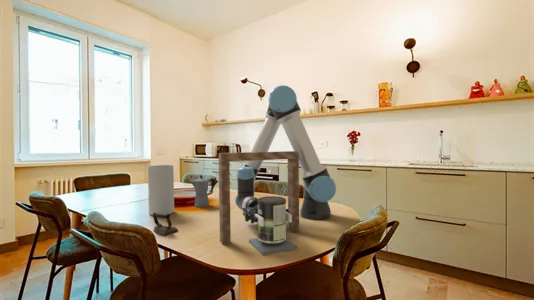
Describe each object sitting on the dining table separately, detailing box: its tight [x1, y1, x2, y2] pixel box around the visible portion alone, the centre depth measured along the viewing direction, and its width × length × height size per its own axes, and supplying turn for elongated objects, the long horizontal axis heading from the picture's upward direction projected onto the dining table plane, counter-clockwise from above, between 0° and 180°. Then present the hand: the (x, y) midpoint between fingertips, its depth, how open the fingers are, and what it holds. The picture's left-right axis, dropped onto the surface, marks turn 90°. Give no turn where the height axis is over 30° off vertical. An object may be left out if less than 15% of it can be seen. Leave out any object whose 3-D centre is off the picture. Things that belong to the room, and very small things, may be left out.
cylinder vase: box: [147, 164, 175, 216], centre depth 142 cm, size 12×12×25 cm
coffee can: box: [257, 195, 287, 243], centre depth 96 cm, size 10×10×14 cm
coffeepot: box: [189, 174, 216, 208], centre depth 159 cm, size 15×9×18 cm, turn 125°
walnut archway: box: [218, 150, 300, 246], centre depth 105 cm, size 32×4×33 cm, turn 114°
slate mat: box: [248, 237, 298, 256], centre depth 96 cm, size 13×13×1 cm
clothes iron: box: [152, 213, 179, 237], centre depth 112 cm, size 7×11×10 cm, turn 60°
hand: (277, 220), depth 92 cm, fingers closed on coffee can, 10 cm apart
